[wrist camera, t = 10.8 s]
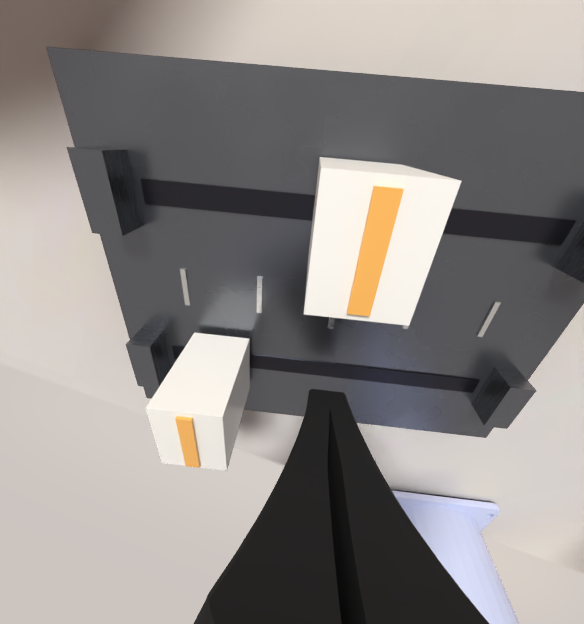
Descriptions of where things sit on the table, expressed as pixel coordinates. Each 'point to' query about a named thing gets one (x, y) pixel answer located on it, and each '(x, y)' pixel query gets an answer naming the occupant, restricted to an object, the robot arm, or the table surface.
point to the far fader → (202, 402)
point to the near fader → (374, 238)
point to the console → (298, 222)
